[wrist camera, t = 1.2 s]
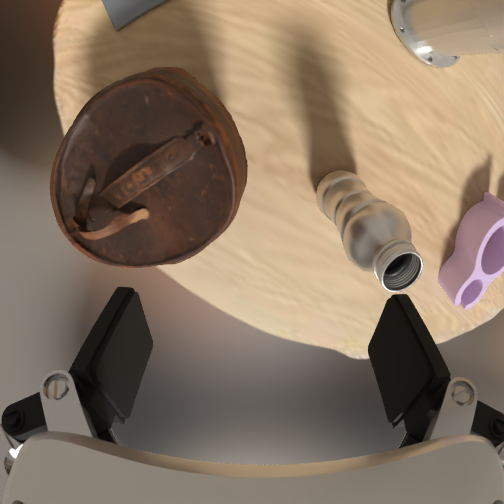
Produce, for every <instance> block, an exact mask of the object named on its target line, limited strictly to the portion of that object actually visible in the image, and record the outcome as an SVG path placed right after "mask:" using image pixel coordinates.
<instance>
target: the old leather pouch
mask: <svg viewBox="0 0 504 504" xmlns="http://www.w3.org/2000/svg"><path fill="white" fill-rule="evenodd" d="M245 155H246V154H245V148H244V145H243V142H242V139H241V137H240V135H239V133H238V130H237V127H236V125H235V122H234V121H233V119H232V116H231V115H230V113H229V112H228V111H227V110H226V108H225V107H224V105H223V104H222V103H221V101H220V100H219V99H218V98H217V97H216V96H215V95H214V94H212V92H210V91H209V90H207V89H206V88H205V87H204V86H203V85H202V84H200V83H198V82H197V81H196V79H195V78H194V77H193V76H191V75H190V74H189V73H187V72H186V71H185V70H183V69H181V68H172V67H164V68H154V69H150V70H148V71H146V72H142V73H139V74H135V75H132V76H129V77H127V78H125V79H123V80H119V81H116V82H114V83H112V84H111V85H109V86H107V87H105V88H104V89H102V90H101V91H100V92H98V93H97V94H96V95H94V96H93V97H92V98H91V99H90V100H89V101H88V102H87V103H86V104H85V106H84V107H83V108H82V109H81V111H80V112H79V114H78V115H77V117H76V119H75V120H74V122H73V125H72V126H71V127H70V129H69V130H68V132H67V133H66V135H65V137H64V139H63V141H62V143H61V145H60V148H59V150H58V152H57V154H56V157H55V160H54V163H53V167H52V172H51V180H50V195H51V202H52V206H53V210H54V214H55V217H56V220H57V222H58V225H59V227H60V229H61V231H62V232H63V234H64V235H65V236H66V237H67V239H68V240H69V241H70V242H71V243H72V245H73V246H75V247H76V248H77V249H78V250H79V251H81V252H82V253H83V254H85V255H86V256H88V257H89V258H91V259H93V260H95V261H98V262H101V263H104V264H107V265H111V266H119V267H127V268H142V267H150V266H157V265H164V264H176V263H179V262H182V261H184V260H186V259H189V258H191V257H192V256H194V255H196V254H198V253H199V252H200V251H202V250H203V249H204V248H205V247H207V246H208V245H209V244H210V243H211V242H213V241H214V240H215V239H217V238H218V237H219V236H220V235H221V234H222V233H223V232H224V231H225V230H226V229H227V228H228V227H229V225H230V224H231V223H232V221H233V219H234V217H235V216H236V213H237V210H238V208H239V204H240V200H241V197H242V195H243V192H244V189H245V186H246V183H247V166H248V165H247V159H246V156H245Z"/></svg>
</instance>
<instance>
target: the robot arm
mask: <svg viewBox="0 0 504 504" xmlns="http://www.w3.org/2000/svg"><path fill="white" fill-rule="evenodd" d="M390 13H391V21H392V24H393V27H394V30H395V32H396V34H397V36H398V37H399V39H400V41H401V42H402V43H403V45H404V46H405V47H406V48H407V50H408V51H409V52H410V53H411V54H412V55H414V56H415V57H416V58H417V59H419V60H420V61H422V62H423V63H425V64H427V65H430V66H433V67H437V68H444V67H450V66H452V65H454V64H455V63H456V62H457V61H458V60H459V58H460V56H462V55H476V54H504V0H394V1H393V3H392V6H391V12H390ZM152 348H153V340H152V337H151V334H150V331H149V328H148V325H147V322H146V319H145V315H144V311H143V308H142V305H141V301H140V298H139V294H138V293H137V292H135V291H134V289H133V288H130V287H118V288H117V289H116V290H115V292H114V293H113V295H112V297H111V298H110V300H109V302H108V303H107V305H106V306H105V308H104V310H103V311H102V313H101V315H100V316H99V318H98V320H97V321H96V323H95V324H94V326H93V328H92V330H91V331H90V333H89V335H88V337H87V338H86V340H85V342H84V344H83V346H82V347H81V349H80V351H79V353H78V355H77V357H76V359H75V361H74V362H73V364H72V366H71V368H70V370H69V372H66V371H63V370H55V371H52V372H50V373H48V374H47V375H46V376H45V377H44V378H43V380H42V382H41V385H40V392H38V393H36V394H34V395H31V396H29V397H27V398H25V399H22V400H20V401H18V402H16V403H13V404H11V405H9V406H8V407H7V408H6V409H5V410H4V412H3V415H2V423H1V424H0V504H504V414H502V413H501V412H499V411H497V410H495V409H493V408H491V407H490V406H488V405H485V404H484V403H482V402H480V401H478V400H477V397H478V394H477V390H476V388H475V386H474V385H473V384H472V383H471V381H469V380H467V379H466V378H462V377H457V378H454V379H452V380H451V379H450V375H451V374H450V372H449V370H448V368H447V366H446V364H445V362H444V360H443V358H442V356H441V354H440V352H439V350H438V348H437V346H436V344H435V342H434V340H433V338H432V336H431V335H430V333H429V331H428V329H427V327H426V325H425V324H424V322H423V320H422V318H421V317H420V315H419V313H418V311H417V310H416V308H415V306H414V304H413V303H412V301H411V299H410V298H409V296H408V295H407V294H394V295H392V296H391V298H389V299H388V300H387V302H386V304H385V307H384V310H383V312H382V315H381V317H380V320H379V322H378V325H377V327H376V329H375V332H374V334H373V336H372V339H371V341H370V343H369V346H368V354H369V357H370V360H371V363H372V367H373V369H374V373H375V376H376V379H377V383H378V386H379V389H380V392H381V396H382V400H383V403H384V407H385V411H386V414H387V418H388V420H389V422H391V423H392V425H393V428H399V427H403V426H405V427H406V431H407V432H406V434H405V436H404V438H403V440H402V442H401V444H400V446H399V448H398V449H394V450H390V451H385V452H381V453H376V454H371V455H366V456H361V457H355V458H349V459H342V460H335V461H326V462H316V463H304V464H286V465H246V464H227V463H214V462H205V461H197V460H189V459H183V458H177V457H171V456H165V455H160V454H154V453H150V452H146V451H141V450H137V449H133V448H129V447H125V446H121V445H119V444H118V442H117V441H116V438H115V436H114V435H113V432H112V430H111V426H112V423H113V422H117V423H121V424H124V421H125V418H129V417H130V414H131V411H132V408H133V404H134V402H135V398H136V395H137V392H138V389H139V386H140V383H141V380H142V377H143V374H144V371H145V368H146V365H147V362H148V359H149V357H150V354H151V351H152Z"/></svg>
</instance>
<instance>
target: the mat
mask: <svg viewBox="0 0 504 504" xmlns="http://www.w3.org/2000/svg"><path fill="white" fill-rule="evenodd" d="M167 1H168V0H102V2H103V4H104V6H105V8H106V10H107V12H108V14H109V17H110V19H111V21H112V23H113V25H114V27H115V29H116V30H117V31H119V30H120V29H122V28H123V27H125V26H126V25H128V24H129V23H131V22H132V21H134V20H135V19H137V18H139V17H140V16H142V15H143V14H145V13H147V12H149V11H150V10H152V9H154V8H155V7H157V6H159V5H161V4H163V3H165V2H167Z"/></svg>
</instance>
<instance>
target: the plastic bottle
mask: <svg viewBox="0 0 504 504" xmlns="http://www.w3.org/2000/svg"><path fill="white" fill-rule="evenodd" d="M316 197H317V203H318V207H319V209H320V211H321V212H322V213H323V214H324V215H325V216H326V217H327V218H329V219H330V220H331V221H332V222H333V223H334V224H335V225H336V226H337V228H338V230H339V232H340V235H341V238H342V242H343V246H344V249H345V251H346V254H347V256H348V259H349V260H350V261H351V262H352V263H353V264H354V265H355V266H357V267H358V268H359V269H361V270H363V271H365V272H370V273H374V274H375V276H376V277H377V279H378V280H379V281H380V282H381V284H382V286H383V287H384V288H385V289H386V290H387V291H390V292H400V291H403V290H406V289H407V288H409V287H410V286H412V285H413V284H414V283H415V282H416V281H417V279H418V278H419V276H420V274H421V272H422V268H423V261H422V258H421V256H420V254H419V253H418V252H417V251H416V249H415V247H414V245H413V244H412V243H411V237H412V235H411V228H410V224H409V222H408V220H407V218H406V216H405V214H404V213H403V212H402V211H401V210H399V209H398V208H396V207H395V206H393V205H392V204H389V203H387V202H385V201H383V200H381V199H379V198H377V197H376V196H374V195H373V194H371V193H370V191H369V190H368V189H367V188H366V186H365V184H364V183H363V181H362V180H361V179H360V178H359V177H358V176H357V175H356V174H354V173H351V172H348V171H342V170H339V171H334V172H331V173H329V174H327V175H326V176H325V177H324V178H323V179H322V180H321V181H320V183H319V185H318V188H317V192H316Z"/></svg>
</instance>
